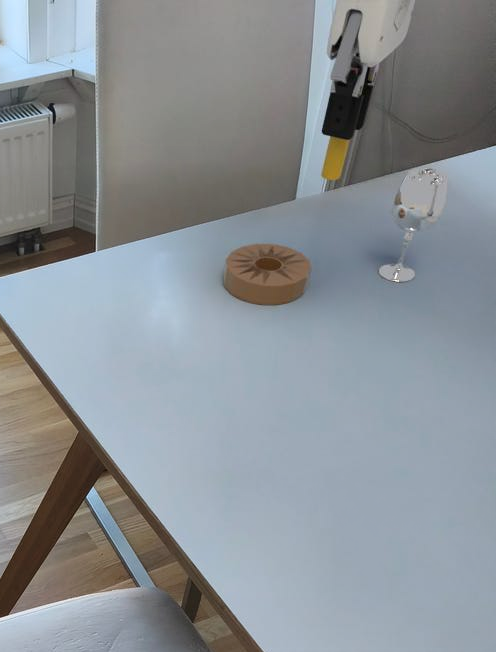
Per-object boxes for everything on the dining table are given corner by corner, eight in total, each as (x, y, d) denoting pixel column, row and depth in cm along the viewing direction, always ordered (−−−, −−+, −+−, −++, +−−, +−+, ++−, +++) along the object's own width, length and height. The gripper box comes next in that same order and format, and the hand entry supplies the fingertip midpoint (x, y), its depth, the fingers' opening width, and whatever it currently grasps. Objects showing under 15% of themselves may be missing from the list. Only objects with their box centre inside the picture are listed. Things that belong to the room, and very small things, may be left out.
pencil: (338, 171, 94) (365, 66, 87) (341, 180, 93) (368, 73, 85) (319, 171, 95) (344, 66, 87) (322, 180, 93) (347, 74, 86)
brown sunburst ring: (301, 263, 115) (305, 243, 113) (310, 305, 109) (315, 286, 107) (221, 262, 116) (223, 243, 114) (225, 304, 110) (229, 284, 108)
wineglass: (418, 287, 111) (452, 189, 101) (371, 280, 112) (400, 183, 103) (421, 265, 114) (454, 168, 105) (375, 259, 116) (404, 163, 106)
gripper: (410, -70, 71) (348, 169, 85) (469, -113, 79) (403, 112, 93) (321, -81, 73) (276, 152, 88) (386, -122, 82) (335, 98, 96)
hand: (342, 130), depth 90 cm, fingers closed on pencil, 2 cm apart
